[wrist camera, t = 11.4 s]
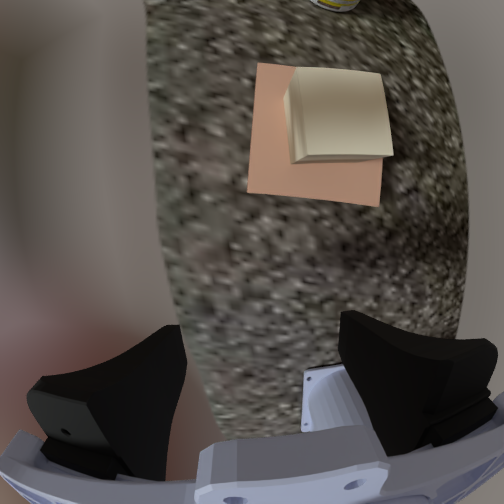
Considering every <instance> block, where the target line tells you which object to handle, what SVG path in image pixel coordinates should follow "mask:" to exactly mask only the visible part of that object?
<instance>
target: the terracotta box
mask: <svg viewBox="0 0 504 504" xmlns="http://www.w3.org/2000/svg"><path fill="white" fill-rule="evenodd" d="M295 69H296V67H291V66H284V65H275V64H265V63H258V66H257V75H256V84H255V96H254V108H253V120H252V132H251V144H250V157H249V169H248V182H247V193H260V194H272V195H283V196H293V197H303V198H313V199H321V200H330V201H338V202H346V203H353V204H361V205H368V206H375V207H379V201H380V190H381V178H382V161H383V158H377V159H372V160H367V161H362V162H358V163H311V164H290V155H289V145H288V135H287V126H286V117H285V108H284V100H283V98H284V95H285V93H286V90H287V88H288V86H289V83H290V81H291V79H292V76H293V74H294V72H295Z"/></svg>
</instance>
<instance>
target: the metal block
mask: <svg viewBox="0 0 504 504" xmlns="http://www.w3.org/2000/svg"><path fill="white" fill-rule="evenodd" d="M283 100H284V108H285V117H286V126H287V135H288V145H289V155H290V164H311V163H358V162H362V161H367V160H372V159H377V158H383V157H388V156H393V146H392V138H391V130H390V123H389V117H388V110H387V105H386V99H385V94H384V89H383V84H382V79H381V75H380V74H377V73H370V72H363V71H354V70H344V69H332V68H315V67H296V69H295V72H294V74H293V76H292V79H291V81H290V83H289V86H288V88H287V90H286V93H285V95H284V98H283Z"/></svg>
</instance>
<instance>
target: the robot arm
mask: <svg viewBox="0 0 504 504" xmlns="http://www.w3.org/2000/svg"><path fill="white" fill-rule="evenodd" d="M338 351H339V354H340V357H341V360H342V363H343V364H339V365H333V366H327V367H320V368H313V369H308V370H306V371H305V372H304V382H303V403H302V420H301V431H302V432H307V433H300V434H292V435H284V436H274V437H262V438H246V439H234V440H228V441H222V442H217V443H214V444H212V445H211V446H209V447H207V448H206V449H204V450H202V451H201V452H200V456H199V463H198V471H197V478H196V479H192V480H179V481H165V476H166V462H167V452H168V444H169V436H170V430H171V424H172V419H173V416H174V412H175V409H176V406H177V403H178V400H179V397H180V393H181V390H182V387H183V384H184V380H185V375H186V368H187V358H186V354H185V349H184V344H183V340H182V335H181V330H180V325H166V326H164V327H162V328H161V329H159V330H158V331H156V332H155V333H153V334H152V335H150V336H149V337H147V338H146V339H145V340H143V341H142V342H140V343H139V344H137V345H135V346H134V347H132V348H131V349H129V350H127V351H126V352H124V353H122V354H121V355H119V356H117V357H115V358H113V359H110V360H108V361H106V362H103V363H101V364H98V365H95V366H92V367H90V368H87V369H83V370H79V371H75V372H71V373H65V374H59V375H51V376H42V377H41V378H40V380H38V382H37V383H36V384H35V385H34V386H33V387H32V388H31V390H30V391H29V392H28V393H27V403H28V406H29V409H30V411H31V412H32V414H33V416H34V417H35V419H36V420H37V422H38V423H39V425H40V426H41V428H42V429H43V431H44V432H45V434H46V435H47V436H48V438H47V440H46V441H45V442H44V441H42V440H41V439H40V438H38V437H37V436H34V435H32V434H29V433H28V432H25V431H23V430H19V431H18V432H17V434H16V435H15V437H14V438H13V439H12V441H11V442H10V443H9V445H8V446H7V448H6V449H5V451H4V452H3V454H2V455H1V456H0V475H1V476H2V477H3V478H4V479H5V480H6V481H7V482H8V483H9V484H10V485H11V486H12V487H13V488H14V489H15V490H16V491H17V492H18V493H19V494H21V495H22V496H23V497H24V498H25V499H26V500H27V501H29V502H30V503H31V504H456V503H457V502H459V501H460V500H462V499H463V498H465V497H466V496H468V495H469V494H470V493H472V492H473V491H475V490H476V489H477V488H478V487H480V486H481V485H483V484H484V483H485V482H486V481H488V480H489V479H490V478H491V477H493V476H494V475H495V474H496V473H498V472H499V471H500V470H501V469H502V468H504V392H502V393H501V394H499V395H498V396H497V397H496V398H495V399H494V400H493V402H492V401H491V400H490V399H489V398H488V397H489V396H490V394H491V392H490V390H488V388H487V385H488V383H489V381H490V378H491V376H492V374H493V371H494V369H495V366H496V363H497V358H498V351H497V348H496V346H495V345H494V344H492V343H491V342H490V341H488V340H487V339H485V338H482V339H466V340H458V339H442V338H435V337H428V336H423V335H419V334H415V333H411V332H408V331H404V330H402V329H399V328H396V327H393V326H391V325H388V324H386V323H383V322H381V321H379V320H376V319H374V318H372V317H370V316H367V315H365V314H363V313H360V312H358V311H355V310H351V311H343V312H341V317H340V331H339V343H338ZM308 377H311V378H309V379H307V378H308ZM308 431H311V432H308Z"/></svg>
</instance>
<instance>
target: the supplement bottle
mask: <svg viewBox="0 0 504 504" xmlns="http://www.w3.org/2000/svg"><path fill="white" fill-rule="evenodd" d="M310 1H311V2H313V3H314V4H316V5H318V6H320V7H322V8H324V9H327V10H331V11H338V12H343V11H349V10H351V9H353V8H355V7H356V5H357V4H358V3H359V1H360V0H310Z"/></svg>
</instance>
